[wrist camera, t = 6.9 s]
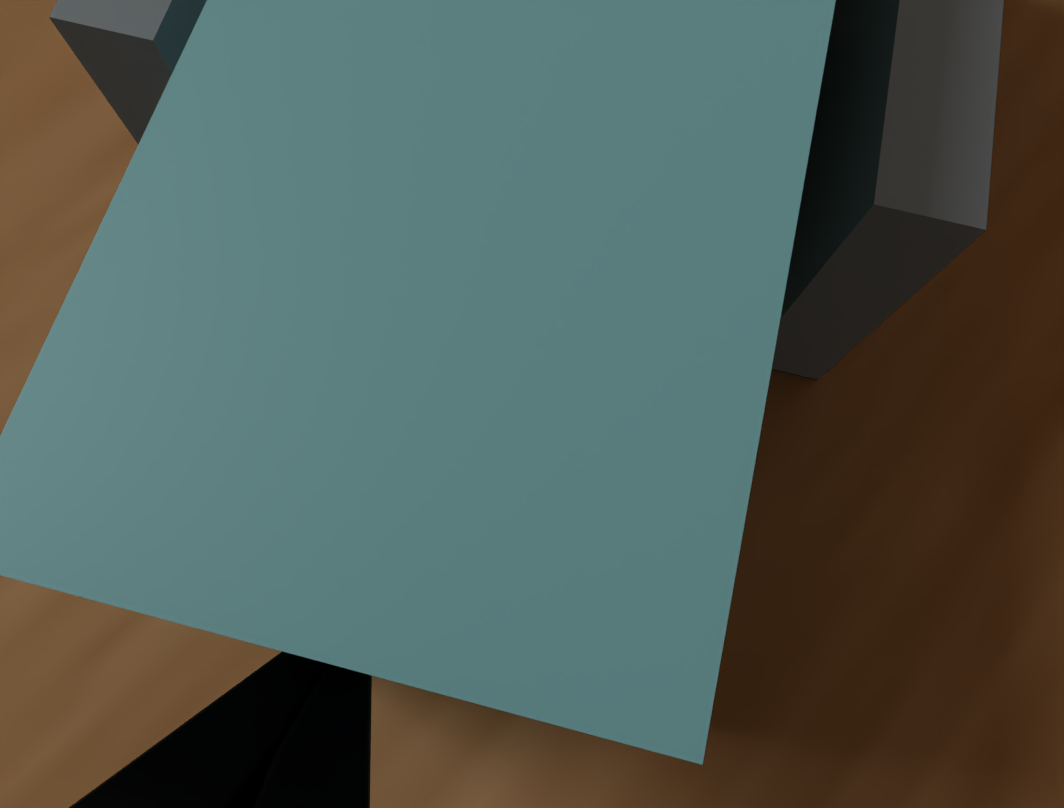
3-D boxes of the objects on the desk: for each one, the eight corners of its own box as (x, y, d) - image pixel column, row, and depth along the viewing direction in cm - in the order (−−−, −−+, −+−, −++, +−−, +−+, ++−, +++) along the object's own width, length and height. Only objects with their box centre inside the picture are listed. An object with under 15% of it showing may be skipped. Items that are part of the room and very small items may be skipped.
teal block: (584, 703, 15) (702, 766, 6) (264, 618, 15) (-59, 558, 6) (737, 10, 19) (923, -505, 11) (493, -45, 20) (487, -592, 11)
